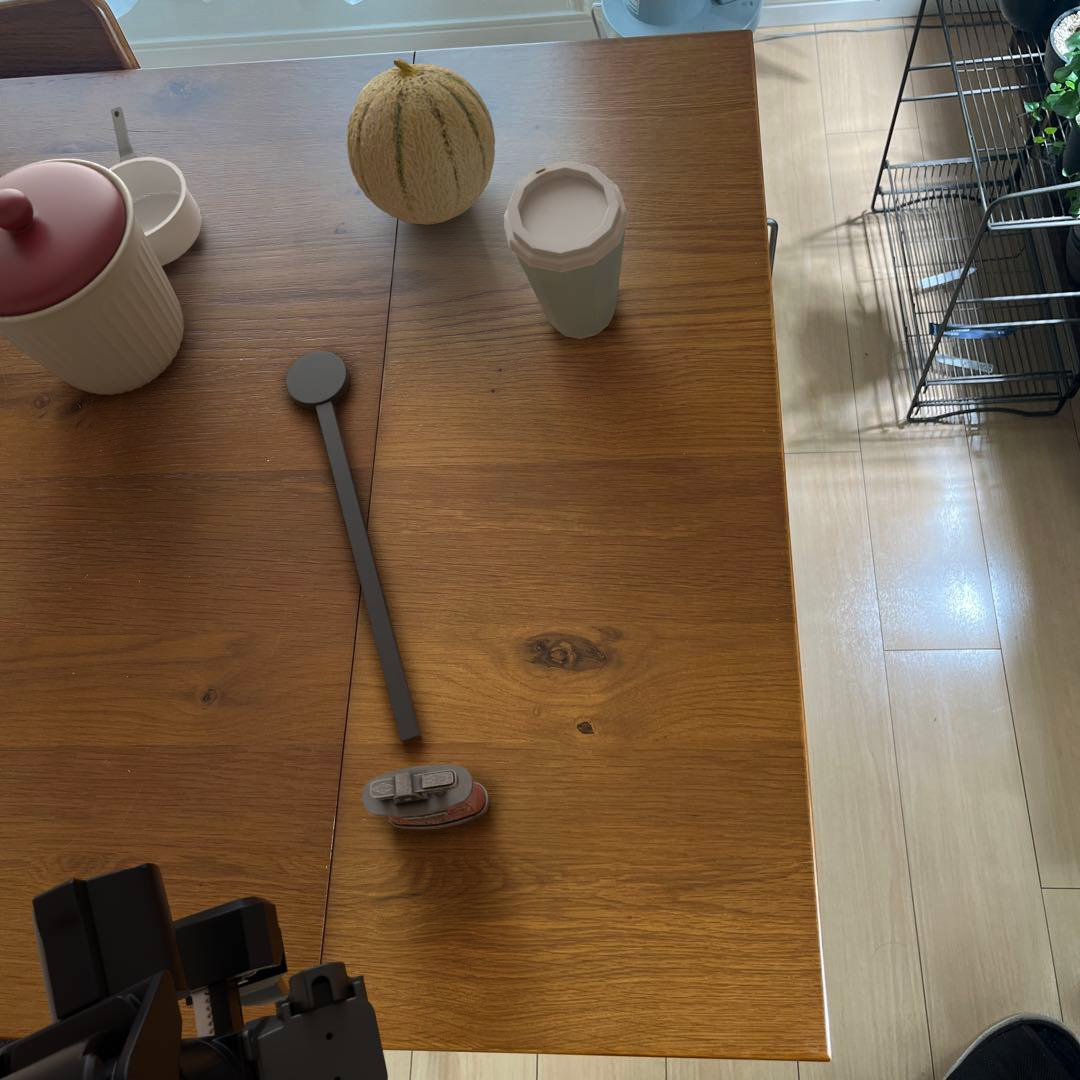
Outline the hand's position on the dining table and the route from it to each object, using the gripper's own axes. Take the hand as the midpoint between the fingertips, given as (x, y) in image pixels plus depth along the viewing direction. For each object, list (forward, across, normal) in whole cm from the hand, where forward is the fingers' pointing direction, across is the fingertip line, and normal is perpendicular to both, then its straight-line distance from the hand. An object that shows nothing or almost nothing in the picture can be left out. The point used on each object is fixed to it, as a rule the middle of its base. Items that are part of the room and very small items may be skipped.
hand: (297, 1077), depth 58 cm
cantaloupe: (+12, +76, -26) cm, 81 cm away
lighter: (+12, +15, -10) cm, 22 cm away
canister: (+12, +70, +9) cm, 71 cm away
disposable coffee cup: (+12, +56, -35) cm, 68 cm away
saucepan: (+12, +88, +4) cm, 89 cm away
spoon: (+12, +41, -10) cm, 44 cm away
